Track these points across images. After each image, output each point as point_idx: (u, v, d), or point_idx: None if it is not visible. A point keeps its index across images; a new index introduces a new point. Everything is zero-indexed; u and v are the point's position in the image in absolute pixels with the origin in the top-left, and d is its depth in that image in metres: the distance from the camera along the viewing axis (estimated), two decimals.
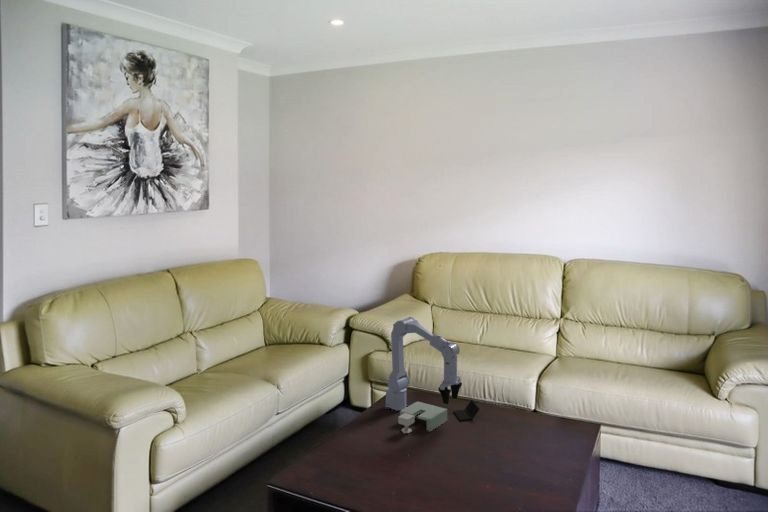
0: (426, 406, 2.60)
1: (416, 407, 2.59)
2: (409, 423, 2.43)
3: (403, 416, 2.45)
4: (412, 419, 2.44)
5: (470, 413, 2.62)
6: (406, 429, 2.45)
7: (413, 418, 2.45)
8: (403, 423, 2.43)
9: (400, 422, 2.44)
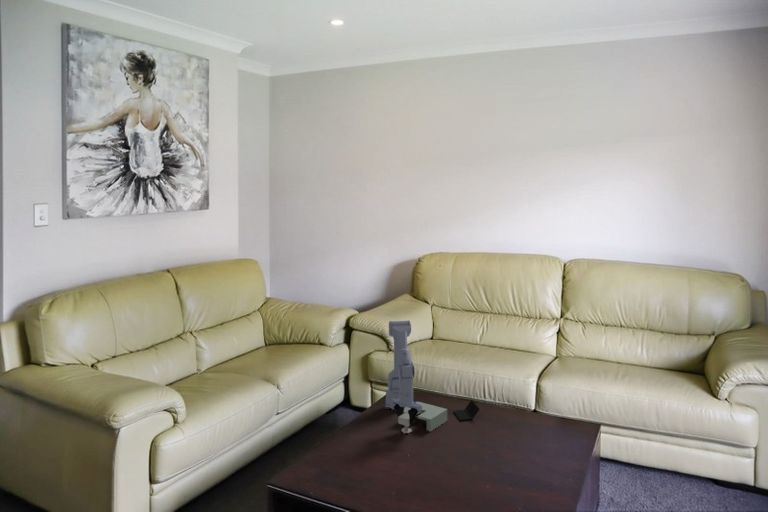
0: (426, 406, 2.60)
1: None
2: (409, 423, 2.43)
3: (403, 416, 2.45)
4: None
5: (470, 413, 2.62)
6: (406, 429, 2.45)
7: None
8: (403, 423, 2.43)
9: (400, 422, 2.44)
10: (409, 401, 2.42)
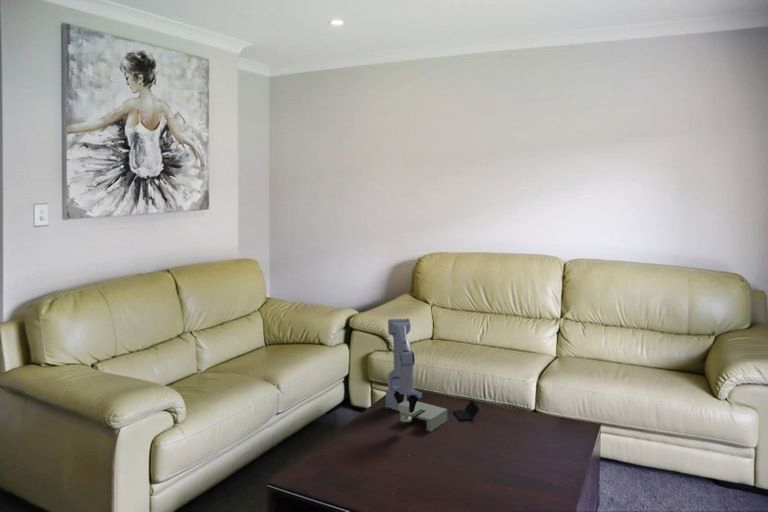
0: (426, 406, 2.60)
1: (416, 407, 2.59)
2: (409, 410, 2.42)
3: (403, 404, 2.44)
4: None
5: (470, 413, 2.62)
6: (406, 417, 2.44)
7: None
8: (403, 410, 2.43)
9: (400, 410, 2.44)
10: (409, 388, 2.41)
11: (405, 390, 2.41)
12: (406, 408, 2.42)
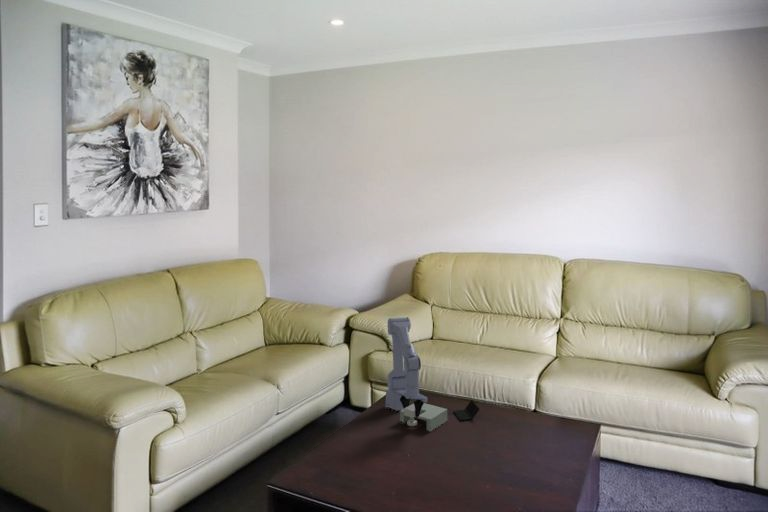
0: (426, 406, 2.60)
1: None
2: None
3: (409, 408, 2.48)
4: None
5: (470, 413, 2.62)
6: (412, 421, 2.48)
7: None
8: (409, 415, 2.47)
9: (406, 414, 2.47)
10: (415, 393, 2.45)
11: (411, 395, 2.45)
12: (412, 412, 2.45)
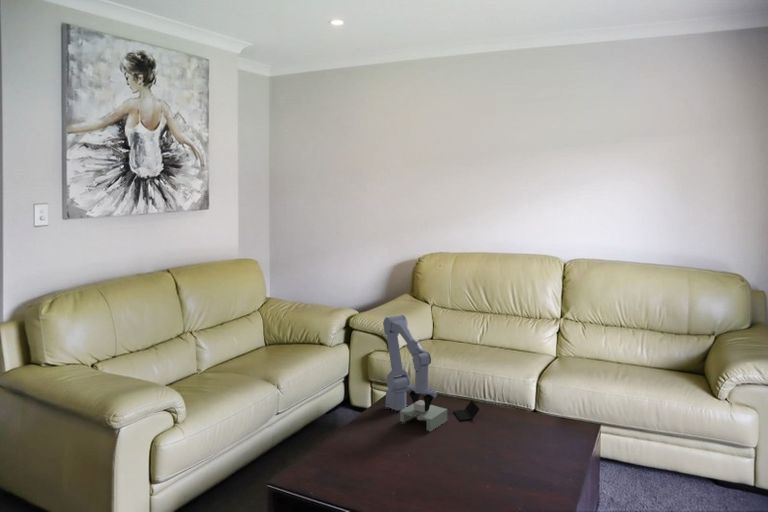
0: None
1: None
2: (424, 409, 2.52)
3: (419, 403, 2.54)
4: None
5: (470, 413, 2.62)
6: None
7: None
8: (418, 409, 2.52)
9: (416, 408, 2.53)
10: (425, 388, 2.51)
11: (421, 389, 2.51)
12: (421, 407, 2.51)
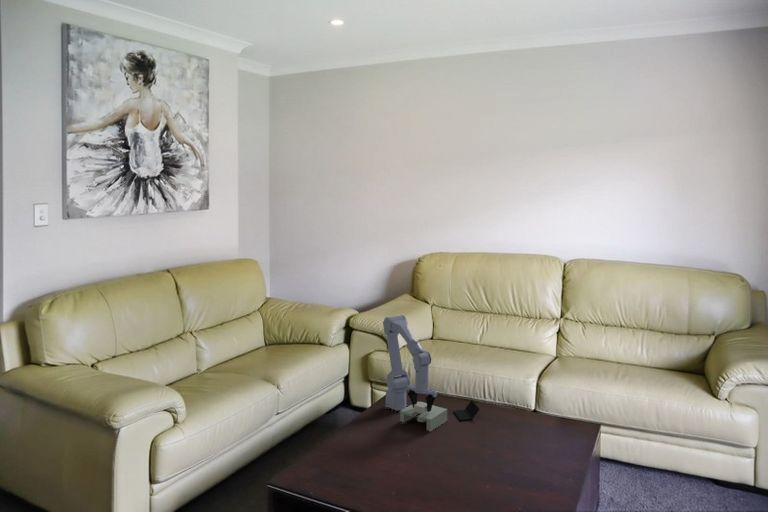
0: None
1: None
2: (424, 411, 2.52)
3: (419, 405, 2.54)
4: None
5: (470, 413, 2.62)
6: None
7: None
8: (419, 411, 2.53)
9: (416, 410, 2.54)
10: (425, 388, 2.51)
11: (421, 389, 2.51)
12: (422, 409, 2.52)
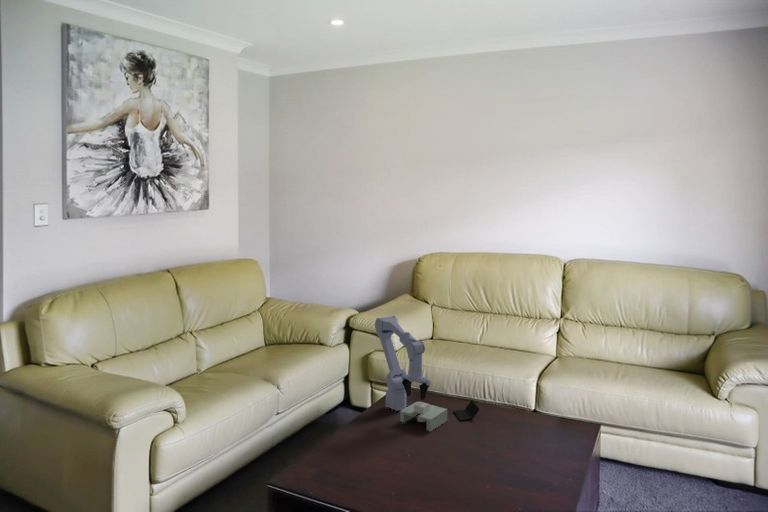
0: None
1: None
2: (424, 411, 2.52)
3: (419, 405, 2.54)
4: (427, 407, 2.54)
5: (470, 413, 2.62)
6: None
7: (428, 406, 2.54)
8: (419, 411, 2.53)
9: (416, 410, 2.54)
10: (418, 376, 2.55)
11: (414, 378, 2.55)
12: (422, 409, 2.52)
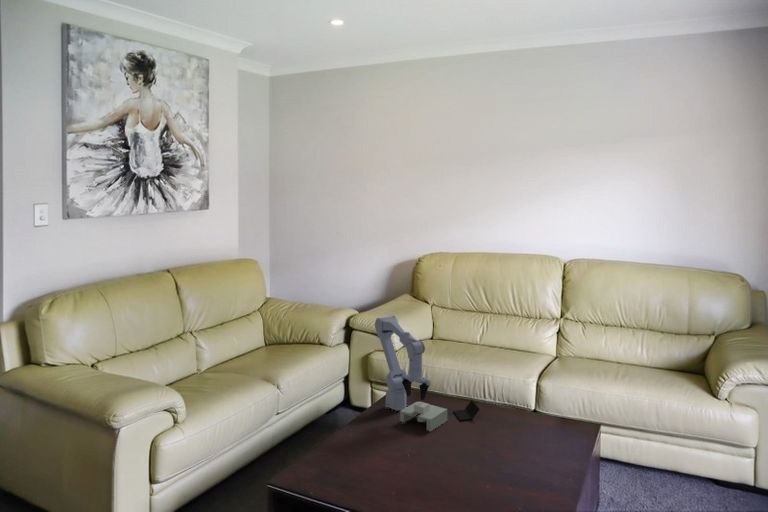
0: None
1: None
2: (424, 411, 2.52)
3: (419, 405, 2.54)
4: (427, 407, 2.54)
5: (470, 413, 2.62)
6: None
7: (428, 406, 2.54)
8: (419, 411, 2.53)
9: (416, 410, 2.54)
10: (418, 376, 2.55)
11: (414, 378, 2.55)
12: (422, 409, 2.52)
